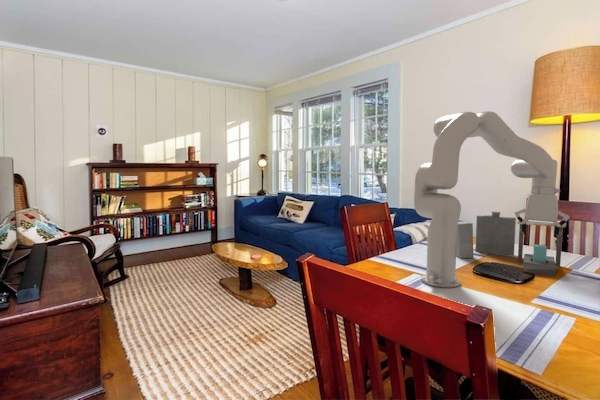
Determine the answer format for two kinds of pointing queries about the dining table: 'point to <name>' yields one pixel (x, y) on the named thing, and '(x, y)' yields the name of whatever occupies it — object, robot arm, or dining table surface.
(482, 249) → the hip flask
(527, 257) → the socket stand
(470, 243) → the skincare box
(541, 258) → the peg
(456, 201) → the robot arm
